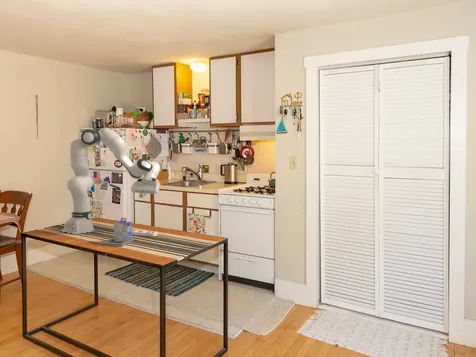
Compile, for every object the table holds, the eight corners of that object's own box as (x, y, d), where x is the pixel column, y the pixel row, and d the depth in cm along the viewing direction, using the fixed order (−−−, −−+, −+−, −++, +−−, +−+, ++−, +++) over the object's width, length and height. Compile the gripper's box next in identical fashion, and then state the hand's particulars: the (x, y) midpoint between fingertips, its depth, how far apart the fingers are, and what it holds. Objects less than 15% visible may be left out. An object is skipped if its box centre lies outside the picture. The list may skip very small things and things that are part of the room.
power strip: (124, 234, 260) (124, 230, 260) (128, 232, 265) (128, 228, 265) (153, 236, 254) (153, 232, 254) (157, 234, 259) (157, 231, 258)
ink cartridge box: (132, 240, 244) (131, 218, 243) (127, 242, 239) (126, 219, 237) (119, 239, 247) (118, 217, 246) (114, 241, 242) (113, 219, 240)
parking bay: (103, 245, 234) (103, 242, 234) (115, 239, 246) (115, 237, 246) (121, 246, 231) (121, 244, 230) (133, 241, 242) (133, 238, 242)
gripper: (133, 178, 273) (125, 193, 265) (159, 179, 267) (152, 195, 259) (137, 183, 278) (129, 199, 270) (162, 185, 272) (155, 200, 264)
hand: (141, 197), depth 264 cm, fingers closed
